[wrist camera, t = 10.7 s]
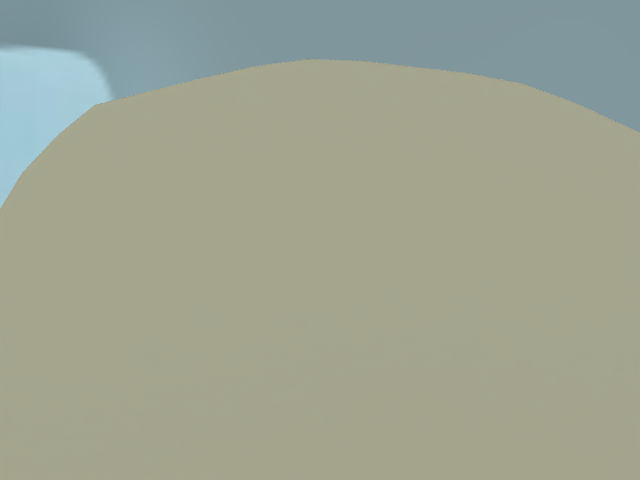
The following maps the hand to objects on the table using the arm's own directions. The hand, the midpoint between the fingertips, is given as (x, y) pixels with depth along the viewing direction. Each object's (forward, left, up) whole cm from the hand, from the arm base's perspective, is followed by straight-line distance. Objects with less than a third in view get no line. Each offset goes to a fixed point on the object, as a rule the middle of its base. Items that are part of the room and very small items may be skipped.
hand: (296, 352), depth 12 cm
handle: (0, +2, -7) cm, 8 cm away
